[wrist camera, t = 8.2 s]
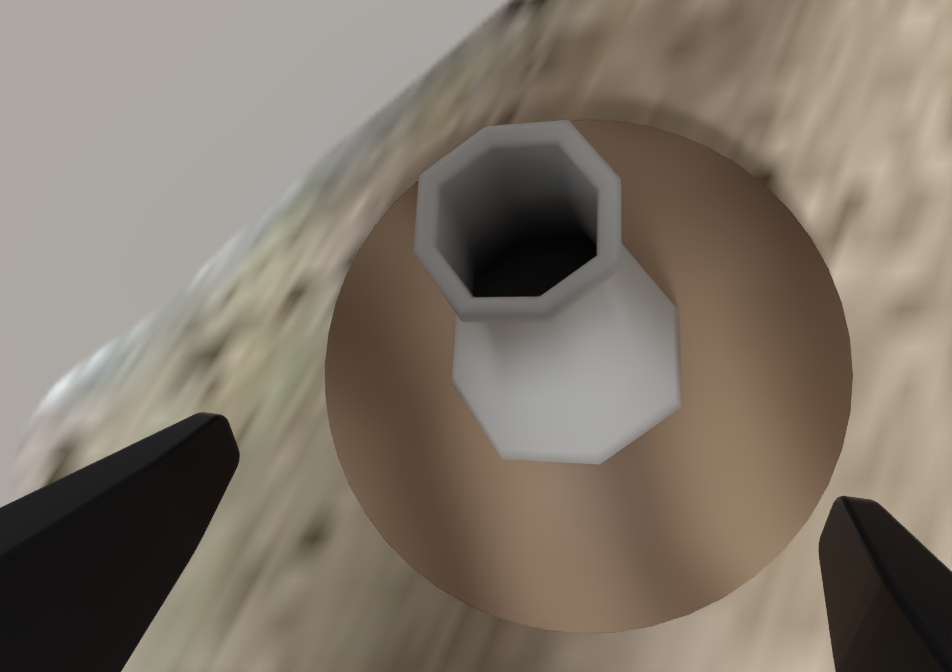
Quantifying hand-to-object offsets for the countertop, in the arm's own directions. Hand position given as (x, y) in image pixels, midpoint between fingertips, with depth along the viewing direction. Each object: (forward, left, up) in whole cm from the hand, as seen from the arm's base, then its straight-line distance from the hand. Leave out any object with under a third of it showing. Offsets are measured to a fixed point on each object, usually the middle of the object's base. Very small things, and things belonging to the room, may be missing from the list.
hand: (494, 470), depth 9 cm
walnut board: (+2, +3, -10) cm, 11 cm away
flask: (+2, +3, -9) cm, 10 cm away
